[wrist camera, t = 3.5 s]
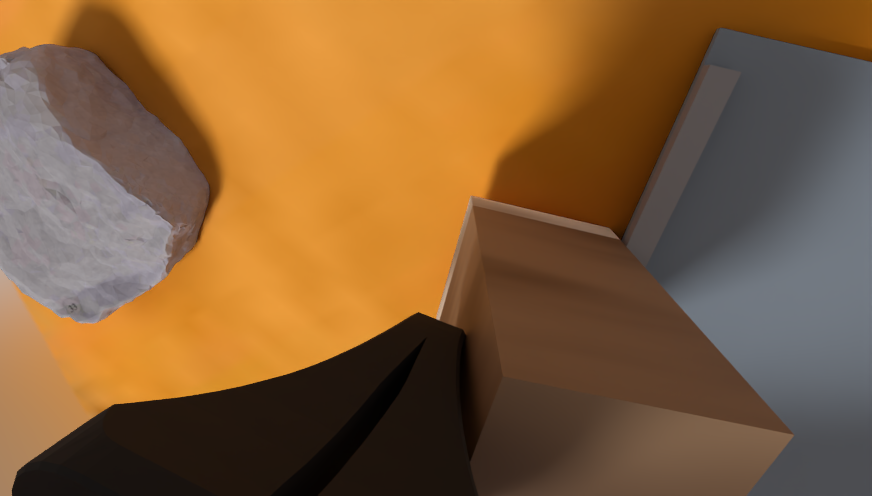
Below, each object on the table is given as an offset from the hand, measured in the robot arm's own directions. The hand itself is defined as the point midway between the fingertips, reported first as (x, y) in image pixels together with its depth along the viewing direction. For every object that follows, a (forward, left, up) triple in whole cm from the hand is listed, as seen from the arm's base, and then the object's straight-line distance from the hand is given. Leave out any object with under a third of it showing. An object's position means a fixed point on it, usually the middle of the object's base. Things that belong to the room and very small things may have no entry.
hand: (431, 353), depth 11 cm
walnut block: (0, -1, -6) cm, 6 cm away
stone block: (-4, +19, -7) cm, 20 cm away
